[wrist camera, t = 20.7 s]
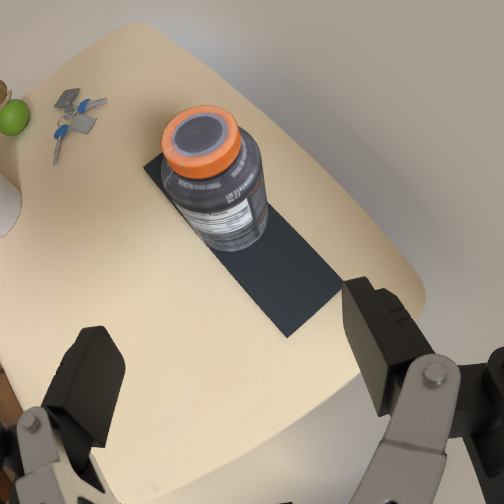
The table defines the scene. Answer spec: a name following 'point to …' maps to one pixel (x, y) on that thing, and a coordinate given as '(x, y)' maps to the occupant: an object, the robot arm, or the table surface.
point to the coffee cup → (8, 205)
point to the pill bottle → (215, 177)
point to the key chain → (79, 121)
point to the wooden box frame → (9, 412)
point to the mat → (275, 269)
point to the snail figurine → (11, 113)
